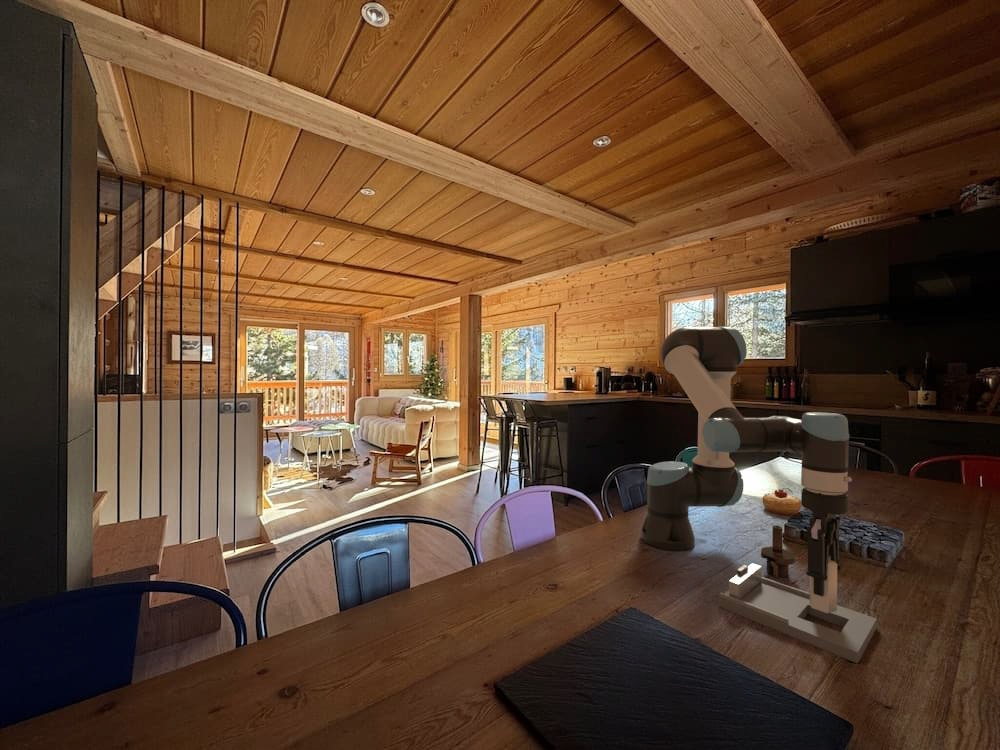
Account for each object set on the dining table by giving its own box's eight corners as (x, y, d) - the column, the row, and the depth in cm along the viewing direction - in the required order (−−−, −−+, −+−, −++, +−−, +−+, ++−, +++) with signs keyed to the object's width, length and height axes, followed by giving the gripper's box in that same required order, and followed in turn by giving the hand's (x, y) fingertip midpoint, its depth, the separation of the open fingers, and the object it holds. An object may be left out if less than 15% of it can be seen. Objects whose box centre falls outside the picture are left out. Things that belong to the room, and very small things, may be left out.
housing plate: (718, 606, 95) (718, 593, 95) (747, 582, 105) (748, 571, 105) (857, 663, 77) (857, 648, 77) (876, 628, 87) (876, 614, 87)
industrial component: (774, 564, 115) (774, 519, 115) (801, 576, 108) (802, 529, 108) (749, 570, 112) (749, 524, 111) (776, 583, 105) (776, 534, 105)
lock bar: (728, 596, 95) (728, 576, 95) (751, 577, 103) (751, 559, 103) (738, 600, 93) (738, 579, 93) (761, 580, 102) (761, 562, 102)
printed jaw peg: (806, 605, 87) (807, 556, 87) (813, 597, 90) (813, 550, 90) (833, 614, 84) (833, 563, 84) (839, 606, 87) (839, 557, 87)
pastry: (764, 505, 166) (763, 482, 166) (801, 510, 159) (801, 486, 159) (761, 512, 156) (760, 488, 156) (801, 518, 149) (800, 492, 149)
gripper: (835, 503, 78) (834, 630, 78) (858, 486, 89) (857, 598, 90) (787, 494, 84) (787, 612, 84) (814, 479, 95) (814, 584, 95)
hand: (823, 605), depth 87 cm, fingers closed on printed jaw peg, 4 cm apart
